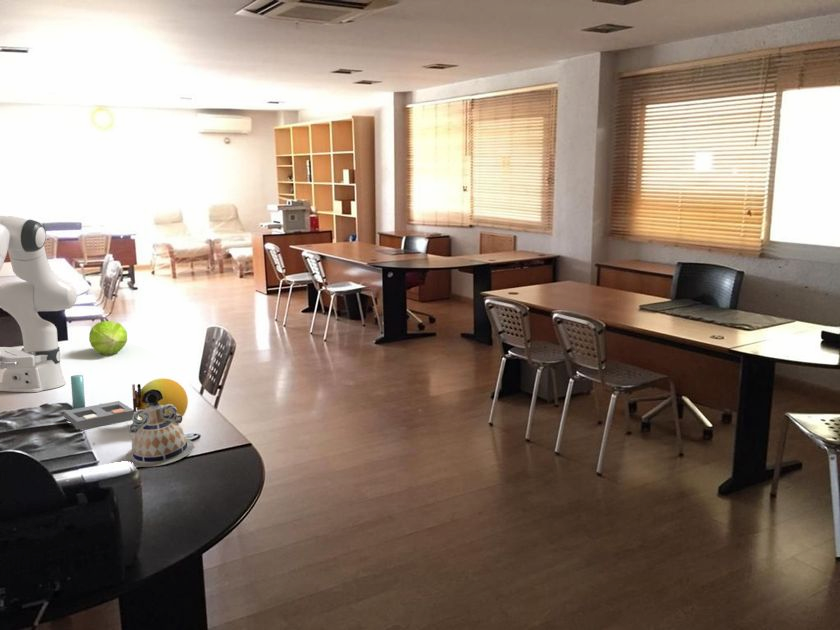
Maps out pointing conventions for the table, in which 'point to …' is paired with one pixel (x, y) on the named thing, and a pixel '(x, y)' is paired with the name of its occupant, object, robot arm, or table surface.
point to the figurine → (157, 434)
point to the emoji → (169, 391)
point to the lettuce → (108, 337)
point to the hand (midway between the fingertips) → (40, 355)
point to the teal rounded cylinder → (77, 391)
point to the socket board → (99, 415)
